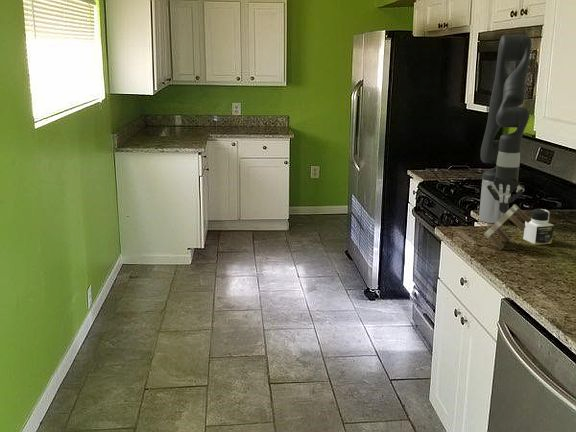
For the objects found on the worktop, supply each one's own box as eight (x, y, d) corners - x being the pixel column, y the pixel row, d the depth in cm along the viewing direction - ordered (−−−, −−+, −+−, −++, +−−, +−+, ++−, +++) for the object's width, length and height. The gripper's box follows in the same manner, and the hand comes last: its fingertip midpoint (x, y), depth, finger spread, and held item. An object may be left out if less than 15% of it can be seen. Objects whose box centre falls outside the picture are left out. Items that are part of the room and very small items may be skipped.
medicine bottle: (535, 245, 220) (538, 213, 217) (522, 239, 227) (526, 208, 224) (551, 243, 222) (555, 211, 219) (539, 237, 229) (542, 207, 226)
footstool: (491, 226, 226) (514, 204, 220) (508, 241, 224) (531, 219, 218) (483, 234, 216) (507, 211, 210) (500, 250, 215) (525, 227, 208)
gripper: (530, 164, 212) (525, 212, 217) (491, 161, 219) (487, 207, 223) (525, 168, 206) (520, 217, 210) (485, 164, 213) (481, 212, 217)
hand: (503, 212), depth 217 cm, fingers closed
